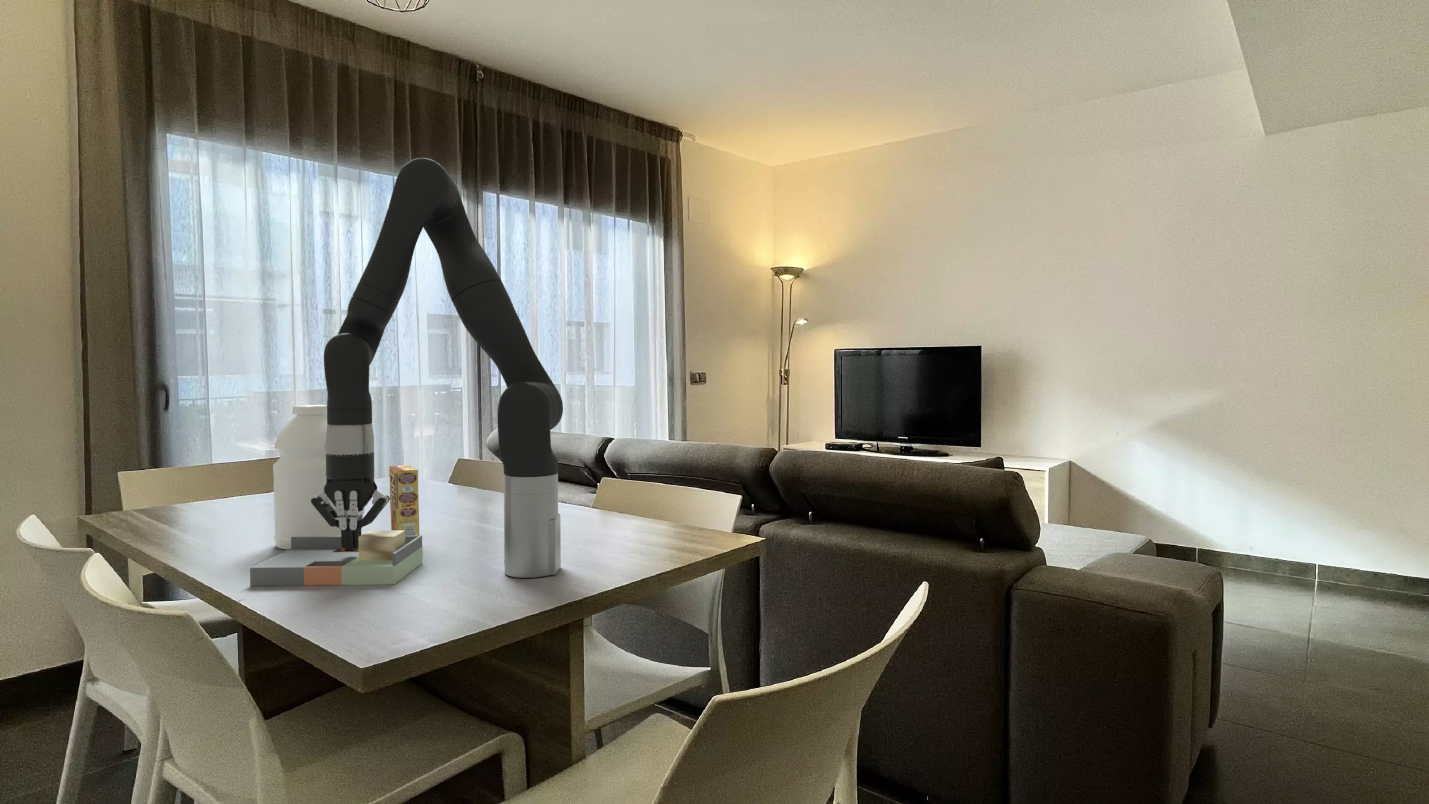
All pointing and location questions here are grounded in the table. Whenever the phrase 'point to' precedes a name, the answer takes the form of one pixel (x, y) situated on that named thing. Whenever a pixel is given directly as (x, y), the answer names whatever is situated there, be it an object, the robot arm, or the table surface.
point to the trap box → (334, 564)
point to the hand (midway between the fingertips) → (351, 550)
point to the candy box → (404, 499)
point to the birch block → (380, 544)
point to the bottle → (301, 476)
